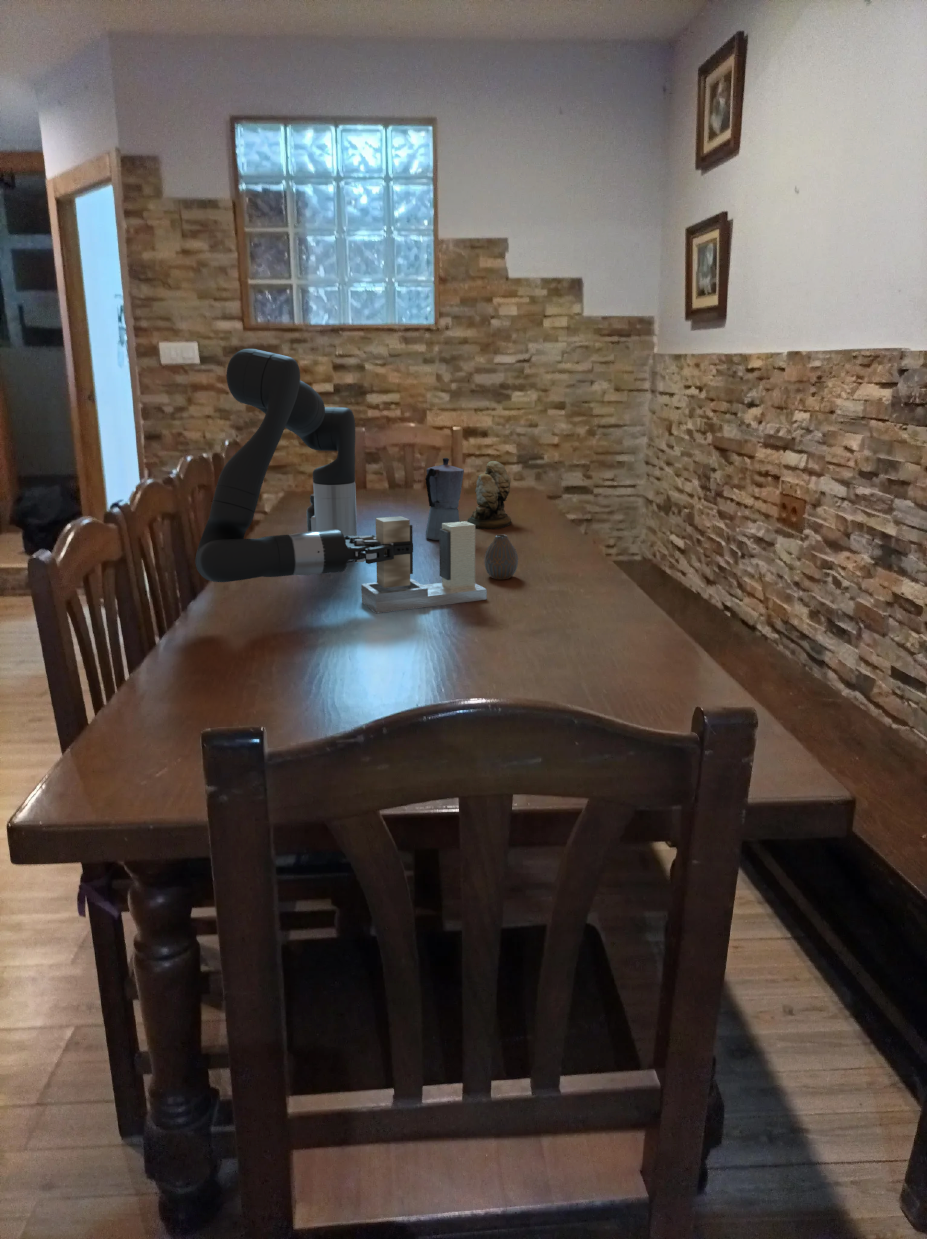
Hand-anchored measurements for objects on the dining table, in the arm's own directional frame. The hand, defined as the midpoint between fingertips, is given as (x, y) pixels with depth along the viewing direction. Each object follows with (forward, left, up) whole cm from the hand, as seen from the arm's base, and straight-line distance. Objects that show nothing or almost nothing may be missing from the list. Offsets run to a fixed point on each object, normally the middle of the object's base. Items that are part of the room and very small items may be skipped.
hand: (407, 544), depth 157 cm
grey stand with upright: (+2, +3, -11) cm, 12 cm away
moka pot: (-20, +56, -11) cm, 60 cm away
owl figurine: (-18, +81, -11) cm, 83 cm away
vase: (+8, +26, -11) cm, 29 cm away
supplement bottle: (-44, +38, -11) cm, 59 cm away
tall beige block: (-2, -2, -7) cm, 8 cm away
